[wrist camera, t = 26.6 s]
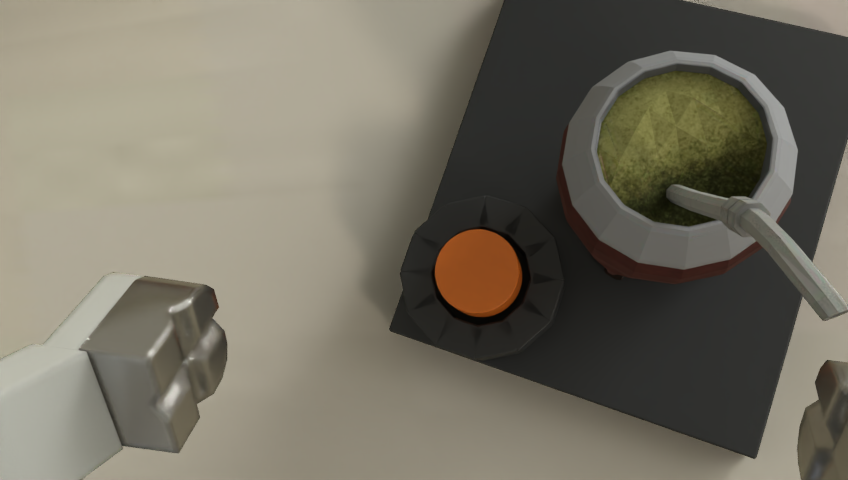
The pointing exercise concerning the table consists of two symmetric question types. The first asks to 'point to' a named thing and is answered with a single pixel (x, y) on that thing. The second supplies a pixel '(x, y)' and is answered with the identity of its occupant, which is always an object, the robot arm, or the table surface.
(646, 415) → the scale
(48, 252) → the table surface
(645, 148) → the mate gourd
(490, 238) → the button
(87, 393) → the robot arm
